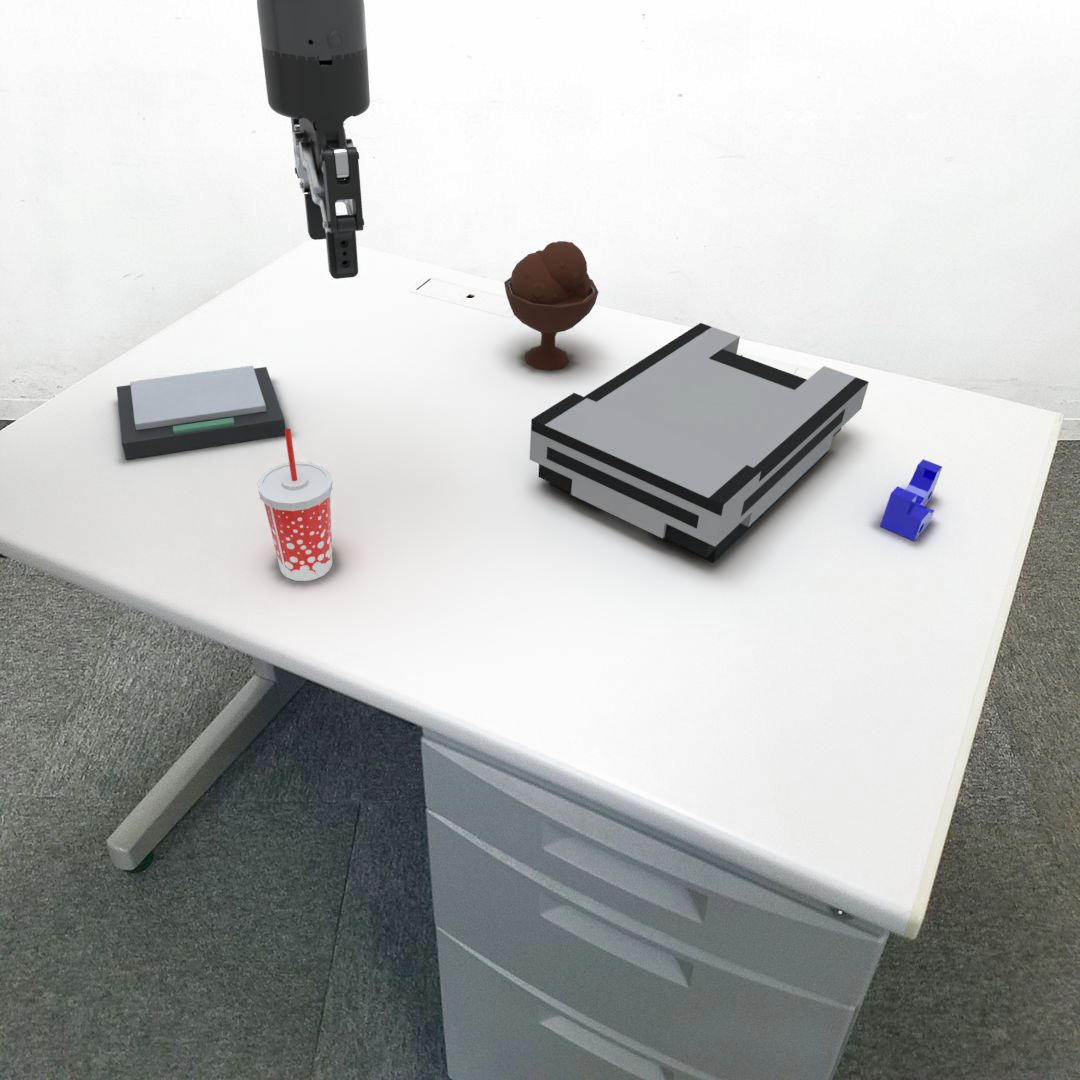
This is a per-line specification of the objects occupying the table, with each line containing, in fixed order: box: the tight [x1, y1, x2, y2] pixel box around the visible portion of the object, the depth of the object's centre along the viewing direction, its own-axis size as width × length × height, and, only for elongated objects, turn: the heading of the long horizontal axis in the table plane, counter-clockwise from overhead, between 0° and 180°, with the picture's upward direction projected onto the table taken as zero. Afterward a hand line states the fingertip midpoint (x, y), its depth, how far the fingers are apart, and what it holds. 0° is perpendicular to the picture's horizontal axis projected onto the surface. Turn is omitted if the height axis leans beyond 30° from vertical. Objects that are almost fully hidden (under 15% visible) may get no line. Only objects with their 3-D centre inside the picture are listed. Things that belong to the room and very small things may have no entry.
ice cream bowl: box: [503, 240, 599, 372], centre depth 113 cm, size 11×11×15 cm
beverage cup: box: [256, 428, 334, 582], centre depth 81 cm, size 6×6×14 cm
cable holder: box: [879, 458, 943, 542], centre depth 94 cm, size 8×4×4 cm, turn 141°
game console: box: [529, 322, 869, 564], centre depth 99 cm, size 21×32×8 cm, turn 142°
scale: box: [116, 365, 286, 460], centre depth 103 cm, size 16×12×3 cm
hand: (332, 256), depth 80 cm, fingers open, 8 cm apart
